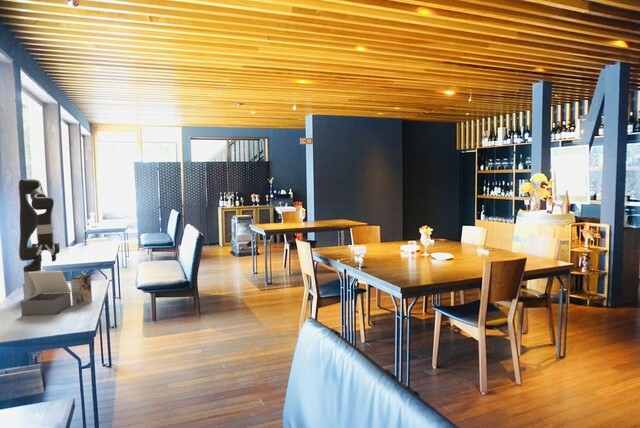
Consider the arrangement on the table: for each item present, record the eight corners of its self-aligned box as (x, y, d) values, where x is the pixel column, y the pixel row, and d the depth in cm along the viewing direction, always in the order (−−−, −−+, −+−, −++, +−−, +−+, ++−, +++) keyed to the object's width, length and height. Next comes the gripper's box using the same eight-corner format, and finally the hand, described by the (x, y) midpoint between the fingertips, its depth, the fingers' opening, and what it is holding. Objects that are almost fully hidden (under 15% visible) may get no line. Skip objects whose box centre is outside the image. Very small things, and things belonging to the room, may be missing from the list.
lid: (28, 272, 245) (29, 271, 246) (38, 293, 255) (39, 292, 255) (60, 272, 246) (61, 270, 247) (70, 292, 255) (70, 291, 256)
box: (21, 315, 239) (20, 301, 239) (39, 307, 255) (38, 293, 255) (55, 314, 240) (54, 300, 239) (71, 306, 256) (70, 292, 255)
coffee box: (83, 300, 268) (81, 274, 267) (92, 300, 267) (90, 274, 265) (72, 304, 259) (70, 277, 258) (81, 305, 258) (79, 278, 256)
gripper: (61, 231, 251) (63, 259, 252) (35, 231, 250) (38, 260, 252) (53, 233, 243) (56, 262, 245) (27, 233, 243) (29, 263, 244)
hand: (46, 261), depth 248 cm, fingers open, 7 cm apart
